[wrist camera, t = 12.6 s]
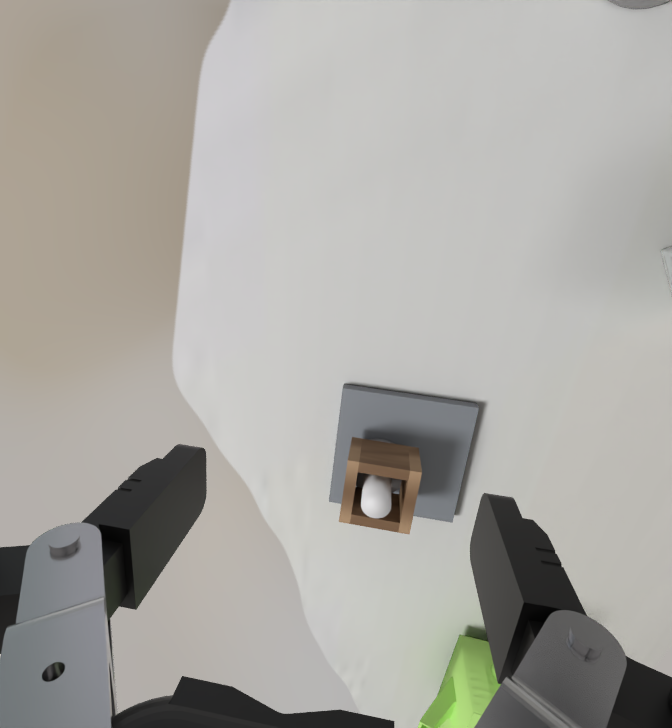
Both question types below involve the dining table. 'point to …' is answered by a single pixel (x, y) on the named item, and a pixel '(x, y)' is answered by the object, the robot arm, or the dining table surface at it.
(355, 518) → the wooden square frame
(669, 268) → the supplement box
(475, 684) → the kettle
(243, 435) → the dining table surface
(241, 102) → the dining table surface
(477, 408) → the post stand
